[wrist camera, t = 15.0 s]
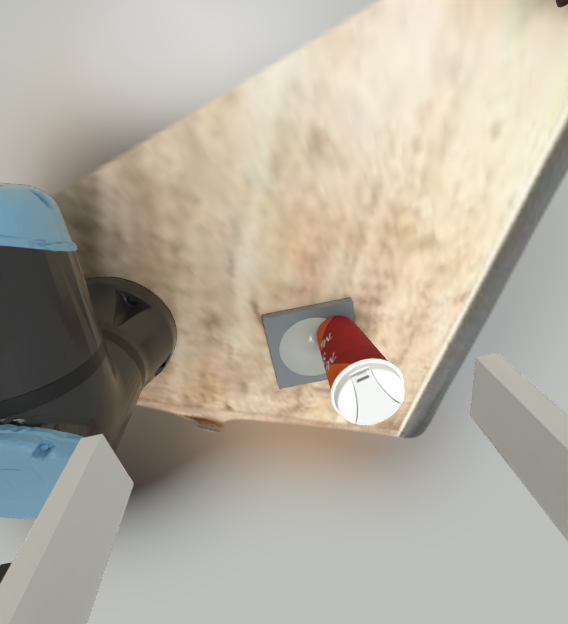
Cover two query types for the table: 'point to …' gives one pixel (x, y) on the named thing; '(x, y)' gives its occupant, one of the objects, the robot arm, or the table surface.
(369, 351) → the paper cup
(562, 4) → the coffee mug
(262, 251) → the table surface
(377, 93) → the table surface
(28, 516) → the robot arm
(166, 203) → the table surface
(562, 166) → the table surface
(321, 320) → the coaster
